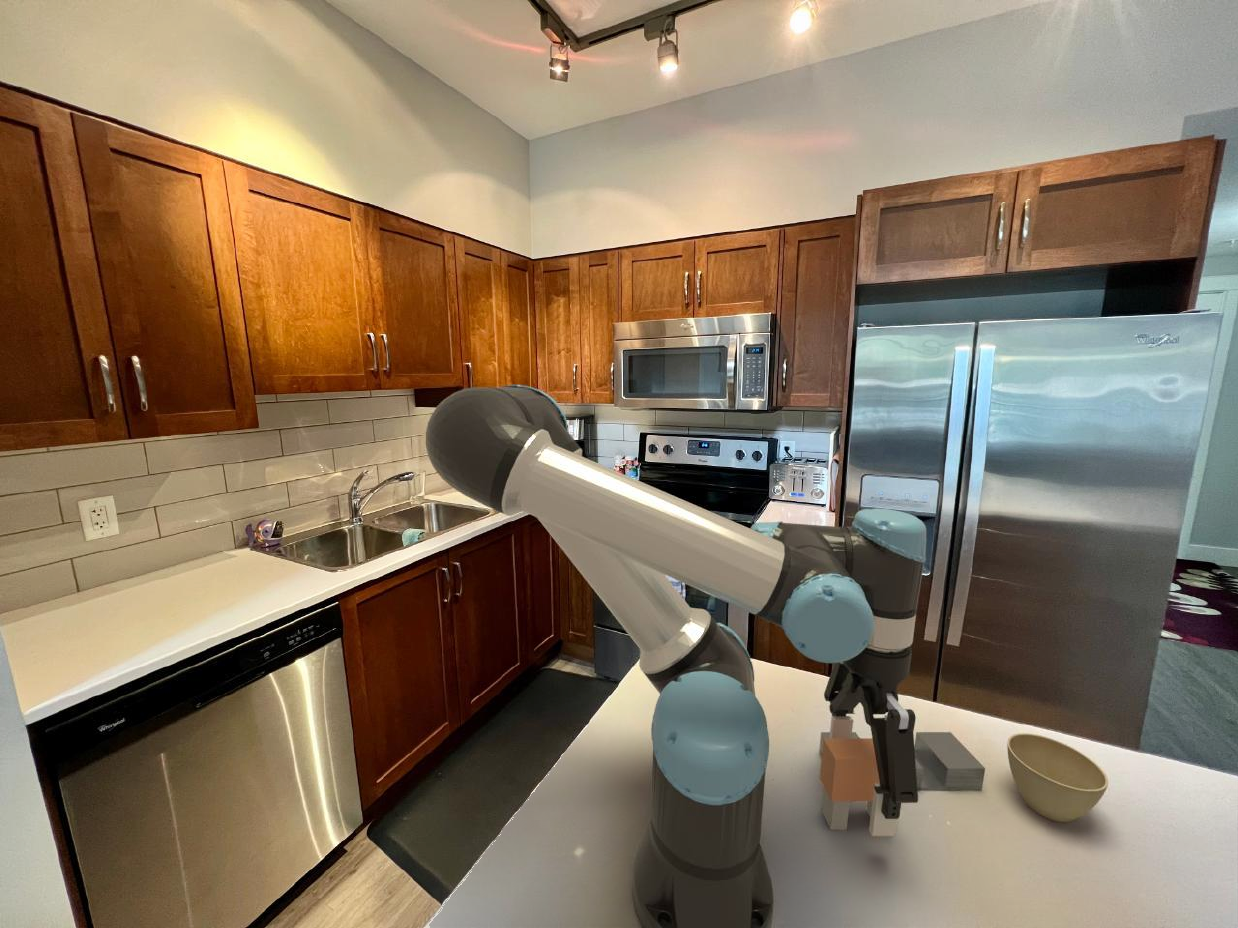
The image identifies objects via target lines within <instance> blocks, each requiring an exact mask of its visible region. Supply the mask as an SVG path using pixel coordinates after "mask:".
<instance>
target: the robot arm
mask: <svg viewBox="0 0 1238 928" xmlns="http://www.w3.org/2000/svg"><path fill="white" fill-rule="evenodd" d="M568 428H569V427H568V421H567V418H566V415H565V413H564V411H563V409H562V408H561V406H560V404H558V402H557V401H556V400H555V399H554V398H553V397H552V396H551V395H549V394H547V393H546V392H544V391H543V390H540V389H537V388H534V387H531V386H527V385H523V384H509V385H505V386H500V387H499V386H496V387H495V386H490V387H489V386H488V387H487V386H486V387H485V386H480V387H479V386H476V387H475V386H474V387H467V388H464V389H460V390H458V391H455V392H453V393H452V394H450V395H449V396H447V397H446V398H445V399H443V400H442V401H440V403H438V405H436V408H435V409H434V411H432V413H431V415H430V418H429V420H428V422H427V425H426V429H425V430H426V432H425V447H426V452H427V457H428V459H429V461H430V463H431V465H432V467H433V469H434V470H435V472H436V473H437V474H438V476H440V478H441V479H442V480H443V481H445V483H447V484H448V485H449V486H450V487H452V488H453V489H454V490H456V491H457V492H459V493H461V494H462V495H463V496H465V497H467V498H470V499H472V500H473V501H475V502H478V503H479V504H482V505H484V506H486V507H487V508H490V509H492V510H494V511H497V512H499V513H501V514H503V515H506V516H508V517H512V516H515V515H516V514H519V513H522V512H523V513H526V514H529V515H531V516H533V517H535V518H537V520H538V521H539V522H540V523H541V524H542V526H543V527H544V528H545V529H546V531H547V532H548V534H549V535H550V536H551V538H552V539H553V540H554V541H555V543H556V544H557V545H558V546H559V547H560V549H561V550H562V551H563V553H564V554H565V555H566V557H567V558H568V560H570V562H571V563H572V564H573V565H574V567H575V568H576V569H577V571H579V573H580V574H581V575H582V577H583V578H584V580H585V581H586V582H587V583H588V585H590V587H591V588H592V590H593V591H594V592H595V593H596V595H597V596H598V597H599V599H600V600H601V601H602V602H603V603H604V605H605V606H606V608H607V609H608V610H609V611H610V612H611V614H612V616H613V617H615V619H616V620H617V622H618V623H619V624H620V625H621V627H622V628H623V630H625V632H626V633H627V634H628V635H629V637H630V638H631V639H632V640H633V642H634V643H635V644H636V645H637V647H638V648H639V650H640V653H639V663H638V665H639V668H640V671H641V672H642V673H643V674H644V676H646V678H647V679H648V681H649V682H650V683H651V685H652V686H653V687H654V688H655V690H656V691H657V692H658V693H659V696H658V698H657V701H656V702H655V708H654V712H653V715H652V722H651V727H650V728H651V729H650V731H651V733H650V734H651V736H650V737H651V741H652V773H651V774H652V777H651V799H650V802H651V803H650V822H649V824H648V826H647V829H646V831H645V833H644V836H643V837H642V840H641V842H640V844H639V847H638V849H637V852H636V855H635V860H634V865H633V866H634V867H633V877H632V878H633V881H632V883H633V885H632V887H633V894H632V895H633V900H634V906H635V910H636V913H637V916H638V919H639V922H640V923H641V925H642V927H643V928H772V923H773V911H774V891H773V883H772V879H771V875H770V871H769V869H768V866H767V865H768V864H767V863H766V859H765V855H764V852H763V849H762V848H763V847H762V845H761V835H762V834H761V833H762V821H763V811H764V810H763V809H764V808H763V807H764V797H765V796H764V793H765V783H766V769H767V765H768V761H769V753H770V737H769V730H768V722H767V721H768V720H767V716H766V714H765V711H764V709H763V706H762V705H761V703H760V701H759V699H758V698H757V696H756V691H755V690H756V689H755V670H754V666H753V662H752V659H751V656H750V654H749V652H748V650H747V647H746V645H745V643H744V642H743V640H742V639H741V638H740V636H739V635H738V634H737V633H736V632H735V631H734V630H733V629H731V628H730V627H729V626H727V625H725V624H723V623H721V622H716V621H715V619H714V617H712V615H711V614H710V613H709V611H708V610H706V609H704V608H696V607H691V606H690V605H689V603H687V601H686V600H685V599H684V598H683V596H682V595H681V593H679V591H678V590H677V588H675V586H674V585H673V584H672V582H671V581H670V580H669V578H668V577H670V578H672V579H674V580H675V581H678V582H680V583H683V584H685V585H687V586H690V587H691V588H694V589H696V590H699V591H701V592H703V593H705V594H708V595H709V596H712V597H714V598H716V599H719V600H721V601H723V602H726V603H728V604H730V605H732V606H734V607H737V608H739V609H741V610H743V611H745V612H747V613H749V614H752V615H754V616H757V617H759V618H761V619H763V620H765V621H767V622H770V623H771V624H774V625H775V626H777V627H780V628H782V630H784V633H785V636H786V637H787V639H789V641H790V642H791V644H792V646H794V648H795V649H797V651H799V653H801V654H802V655H803V656H804V657H806V658H808V659H810V660H812V661H816V662H819V663H824V664H833V667H832V669H831V672H830V675H829V678H828V680H827V684H826V687H825V690H824V693H823V698H824V700H825V702H829V708H828V709H829V713H830V714H831V719H830V728H829V732H830V736H829V738H851V736H852V732H853V726H854V718H853V717H852V716H850V715H855V714H856V713H855V708H856V707H857V706H858V705H859V704H860V705H861V706H862V709H863V714H864V716H863V717H864V720H865V723H866V725H869V727H870V731H871V738H872V739H873V745H874V751H875V757H876V763H877V769H878V775H879V781H880V783H875V786H874V795H873V803H872V811H871V817H870V820H869V826H868V827H869V828H868V831H869V832H870V834H871V836H872V837H889V836H890V837H892V836H893V837H895V836H896V832H897V825H898V820H899V818H900V815H901V809H902V804H916V803H918V802H919V796H918V794H919V793H918V790H917V777H916V763H915V749H914V746H915V738H914V737H915V735H914V729H915V724H916V719H917V718H916V713H915V712H914V710H913V709H911V708H903V706H902V705H901V704H900V703H899V694H898V685H900V684H901V682H903V681H904V680H905V679H906V678H908V676H909V675H910V667H911V663H912V662H911V661H912V655H913V654H912V653H913V649H912V644H913V643H914V642H913V641H914V633H915V628H916V627H915V626H916V619H917V613H918V603H919V597H920V590H921V585H922V584H921V583H922V577H923V573H924V572H923V571H924V565H925V563H926V560H927V557H926V553H927V551H926V550H927V527H926V524H925V523H924V522H923V520H921V519H919V518H918V517H917V516H916V515H913V514H910V513H907V512H903V511H899V510H894V509H887V508H872V509H871V508H869V509H868V508H864V509H861V510H858V511H857V512H856V514H855V515H854V520H853V521H852V524H851V526H833V525H816V524H805V523H804V524H802V523H791V522H783V521H768V522H767V521H765V522H764V521H762V522H761V521H759V522H758V521H757V522H755V523H753V524H752V525H751V527H750V528H749V527H747V526H745V525H742V524H740V523H737V522H735V521H733V520H731V519H728V518H727V517H724V516H721V515H719V514H717V513H714V512H713V511H709V510H707V509H705V508H703V507H701V506H698V505H696V504H693V503H691V502H689V501H686V500H684V499H682V498H679V497H677V496H675V495H672V494H670V493H668V492H666V491H663V490H661V489H659V488H657V487H654V486H651V485H649V484H647V483H645V482H642V481H640V480H638V479H635V478H634V477H631V476H628V475H626V474H624V473H622V472H620V471H616V470H614V469H612V468H610V467H608V466H605V465H603V464H600V463H599V462H596V461H594V460H591V459H588V458H586V457H584V456H583V449H582V448H581V447H580V446H579V444H578V443H577V441H576V440H575V439H574V438H573V437H572V435H571V434H570V432H569V429H568ZM875 715H884V717H875Z"/></svg>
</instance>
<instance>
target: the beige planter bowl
mask: <svg viewBox="0 0 1238 928" xmlns="http://www.w3.org/2000/svg"><path fill="white" fill-rule="evenodd" d="M1006 748H1007V759H1008V763H1009V768H1010V772H1011V775H1012V778H1013V780H1014V783H1015V786H1016V787H1017V790H1018V792H1019V795H1021V798H1022V800H1023V801H1024V802H1025V803H1026V805H1028V807H1029V808H1031V809H1032V811H1034V812H1036V813H1037V814H1039V815H1040V816H1042V817H1044V818H1047V819H1049V820H1051V821H1054V822H1058V823H1068V822H1071V821H1075V820H1077V819H1078V818H1080V817H1082V816H1084V815H1085V814H1087V813H1088V812H1089V811H1091V810H1092V809H1093V808H1094V807H1095V806H1096V805H1097V804H1098V803H1099V801H1100V800H1101V799H1102V797H1103V796H1104V794H1105V793H1106V790H1107V788H1108V786H1109V779H1108V776H1107V774H1106V773H1105V771H1104V770H1103V769H1102V767H1100V766H1099V765H1098V764H1097V763H1096V762H1095V761H1094V760H1092V759H1091V758H1090V757H1088V756H1087V755H1085V754H1084V753H1082V752H1081V751H1079V750H1077V749H1075V748H1074V747H1072V746H1070V745H1068V744H1067V743H1064V742H1061V741H1058V740H1057V739H1054V738H1051V737H1048V736H1043V735H1041V734H1036V733H1028V732H1027V733H1025V732H1024V733H1023V732H1022V733H1015V734H1013V735H1011V736H1009V738H1008V739H1007V747H1006Z"/></svg>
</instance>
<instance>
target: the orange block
mask: <svg viewBox="0 0 1238 928" xmlns="http://www.w3.org/2000/svg"><path fill="white" fill-rule="evenodd" d="M819 780H820V783H821V784H822V786H823V793H822V802H821V812H822V814H823V817H824V818H825V820H826V822H827V825H828V827H829V828H830V830H835V831H836V830H837V831H838V830H841V831H842V830H844V831H845V830H848V829H847V827H848V820H849V819H848V818H849V809H850V802H866V807H865V811H866V812H867V814H868V816H869V818H871V811H872V803H873V795H874V786H875V783H880V781H879V775H878V769H877V763H876V757H875V751H874V745H873V739H872V737H871V738H866V737H865V738H863V737H862V738H860V737H859V738H823V748H822V757H821V760H820V769H819Z"/></svg>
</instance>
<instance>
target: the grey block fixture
mask: <svg viewBox="0 0 1238 928" xmlns="http://www.w3.org/2000/svg"><path fill="white" fill-rule="evenodd" d="M915 733H916V734H915V738H914V749H915V763H916V777H917V791H982V790H983V784H984V779H985V772H986V767H985V766H984V765H983V764H982V763H981V762H980V761H979V760H978V759H977V758H976V757H975V756H974V755H973V754H972V752H970V751H969V749H967V748H966V746H964V745H963V743H962V742H961V741H960V740H959V739H958V738H957V737H956V736H955V735H954V734H953V733H952V732H950V731H941V732H938V731H931V732H930V731H916V732H915ZM829 736H830V731H828V732H827V731H826V732H825V731H821V732H820V742H819V751H818V753H819V755H820V757H821V758H822V748H823V738H829ZM851 738H860V736H859V735H858V734H857V732H856V731H855V732H854V731H852V736H851Z"/></svg>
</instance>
